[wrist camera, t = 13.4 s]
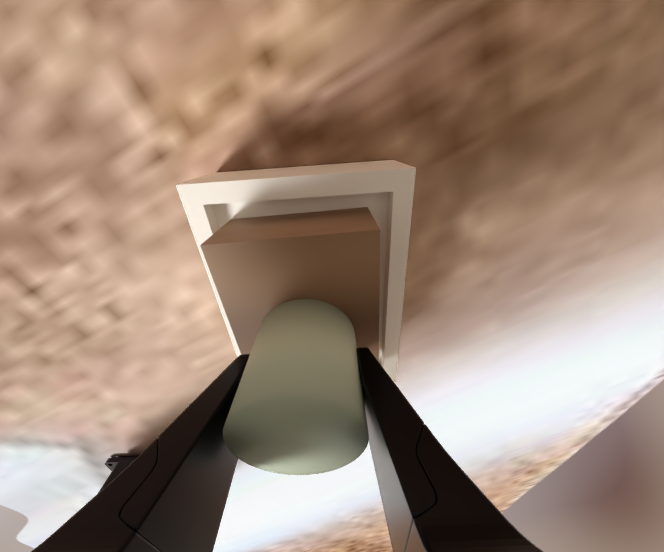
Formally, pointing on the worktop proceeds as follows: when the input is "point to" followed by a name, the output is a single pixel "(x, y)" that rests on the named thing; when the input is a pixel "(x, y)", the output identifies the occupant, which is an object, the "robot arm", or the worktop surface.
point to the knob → (300, 393)
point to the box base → (311, 196)
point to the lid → (298, 268)
